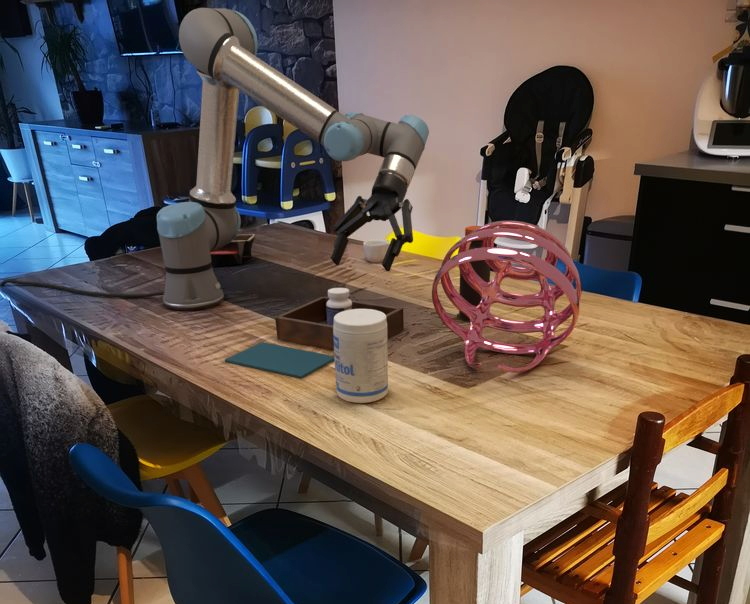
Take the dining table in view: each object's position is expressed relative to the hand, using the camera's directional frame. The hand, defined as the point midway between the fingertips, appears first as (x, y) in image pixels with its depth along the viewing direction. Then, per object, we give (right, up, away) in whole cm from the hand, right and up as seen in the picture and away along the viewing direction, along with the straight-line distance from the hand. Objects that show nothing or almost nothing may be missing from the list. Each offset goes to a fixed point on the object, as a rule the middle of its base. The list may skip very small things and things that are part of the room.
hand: (359, 265), depth 166 cm
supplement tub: (+1, -33, -29) cm, 44 cm away
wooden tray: (-4, -15, +1) cm, 16 cm away
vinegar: (+26, -10, +8) cm, 29 cm away
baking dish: (-42, +21, +64) cm, 79 cm away
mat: (-16, -23, -12) cm, 31 cm away
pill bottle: (-4, -16, +1) cm, 16 cm away
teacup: (+3, +20, +58) cm, 62 cm away
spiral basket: (+30, -24, -16) cm, 42 cm away
